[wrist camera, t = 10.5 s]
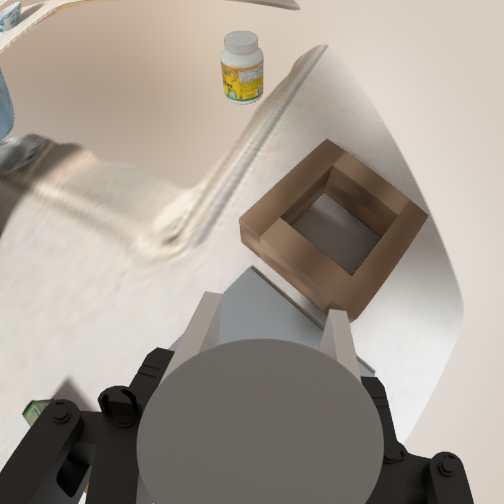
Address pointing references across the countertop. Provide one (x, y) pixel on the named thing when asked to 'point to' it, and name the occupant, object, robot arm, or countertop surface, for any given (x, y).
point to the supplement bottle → (242, 68)
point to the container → (260, 429)
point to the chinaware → (9, 17)
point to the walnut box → (308, 255)
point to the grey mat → (264, 316)
